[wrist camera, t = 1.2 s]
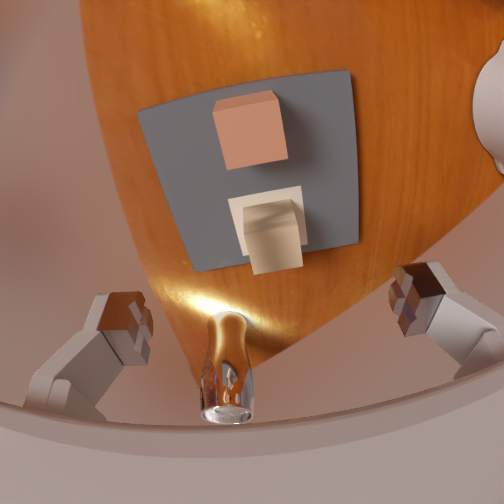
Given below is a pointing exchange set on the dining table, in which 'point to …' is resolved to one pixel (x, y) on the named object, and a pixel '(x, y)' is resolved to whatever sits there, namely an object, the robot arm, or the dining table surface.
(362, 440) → the robot arm
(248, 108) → the terracotta block
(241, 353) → the beer glass
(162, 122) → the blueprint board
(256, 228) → the maple block
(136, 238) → the dining table surface
